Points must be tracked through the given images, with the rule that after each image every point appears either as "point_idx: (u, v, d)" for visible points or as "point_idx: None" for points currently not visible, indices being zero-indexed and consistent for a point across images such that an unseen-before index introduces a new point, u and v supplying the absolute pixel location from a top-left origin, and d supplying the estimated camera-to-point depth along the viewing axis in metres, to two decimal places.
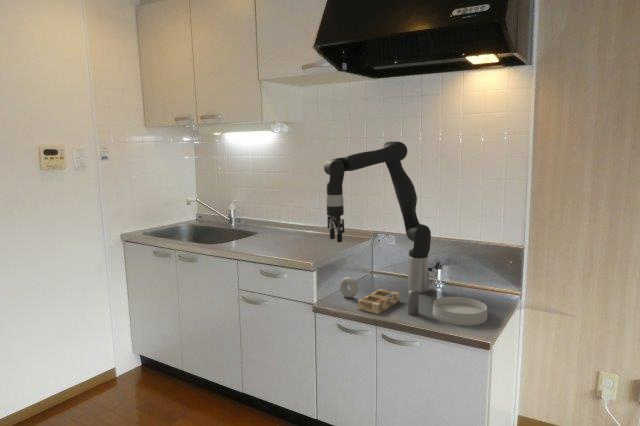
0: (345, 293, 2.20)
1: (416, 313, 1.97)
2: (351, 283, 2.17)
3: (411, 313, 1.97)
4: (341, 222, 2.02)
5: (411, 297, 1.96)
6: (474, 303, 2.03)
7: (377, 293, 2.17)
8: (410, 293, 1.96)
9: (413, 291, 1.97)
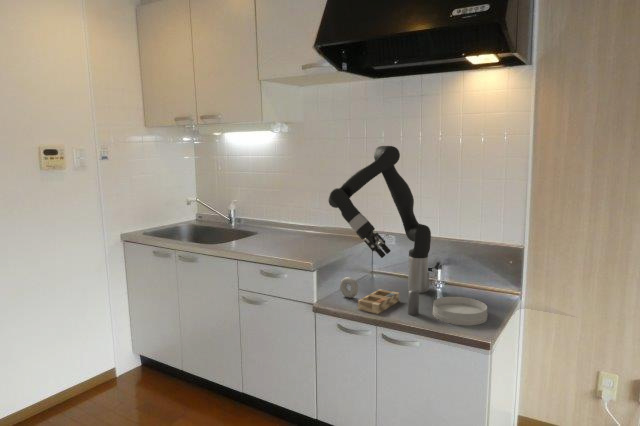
0: (345, 293, 2.20)
1: (416, 313, 1.97)
2: (351, 283, 2.17)
3: (411, 313, 1.97)
4: (367, 241, 1.95)
5: (411, 297, 1.96)
6: (474, 303, 2.03)
7: (377, 293, 2.17)
8: (410, 293, 1.96)
9: (413, 291, 1.97)
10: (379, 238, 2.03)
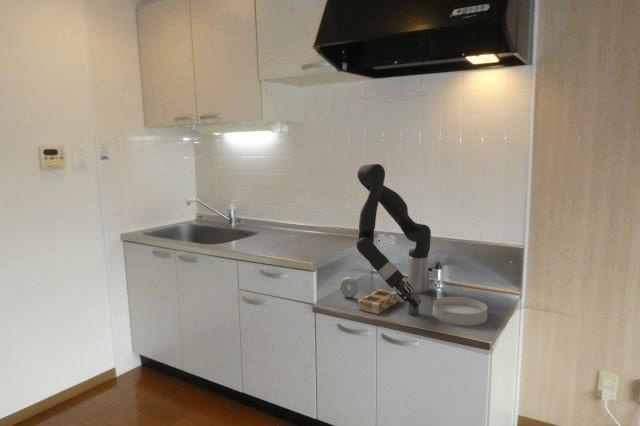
0: (345, 293, 2.20)
1: (416, 313, 1.97)
2: (351, 283, 2.17)
3: (411, 313, 1.97)
4: (400, 293, 1.93)
5: None
6: (474, 303, 2.03)
7: (377, 293, 2.17)
8: (410, 293, 1.96)
9: (413, 291, 1.97)
10: (408, 287, 2.00)
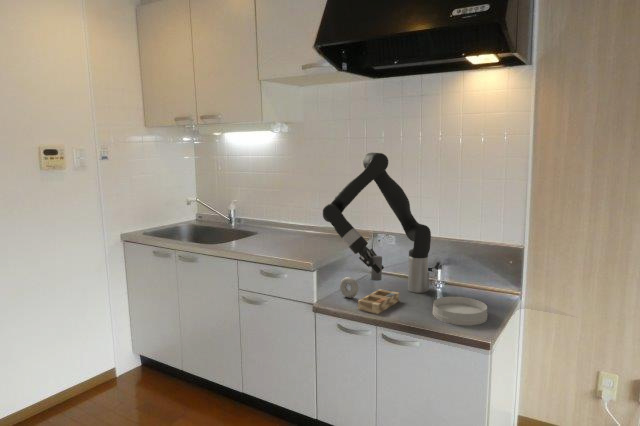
0: (345, 293, 2.20)
1: (379, 278, 2.02)
2: (351, 283, 2.17)
3: (374, 278, 2.02)
4: (363, 258, 1.98)
5: None
6: (474, 303, 2.03)
7: (377, 293, 2.17)
8: (373, 258, 2.01)
9: (376, 257, 2.02)
10: (372, 253, 2.05)
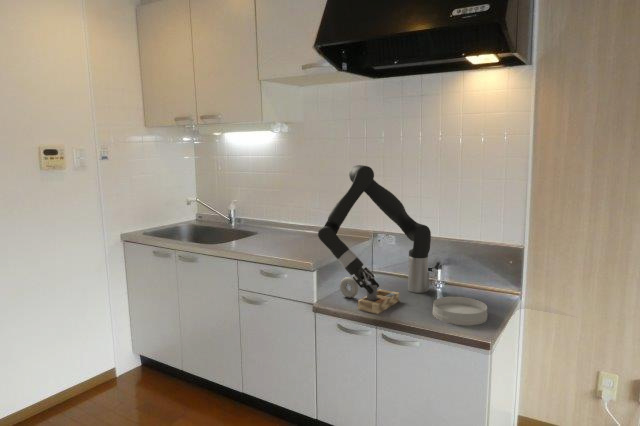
0: (345, 293, 2.20)
1: None
2: (351, 283, 2.17)
3: None
4: (356, 278, 2.00)
5: None
6: (474, 303, 2.03)
7: (377, 293, 2.17)
8: None
9: (371, 286, 2.05)
10: (368, 273, 2.08)
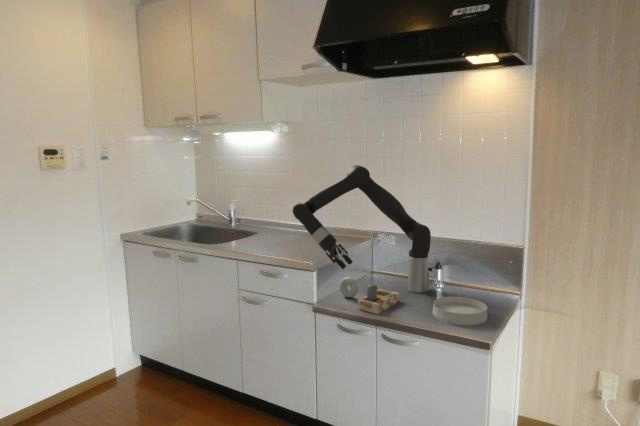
0: (345, 293, 2.20)
1: None
2: (351, 283, 2.17)
3: None
4: (328, 253, 2.04)
5: (369, 292, 2.04)
6: (474, 303, 2.03)
7: (377, 293, 2.17)
8: (368, 288, 2.04)
9: (371, 286, 2.05)
10: (341, 250, 2.11)
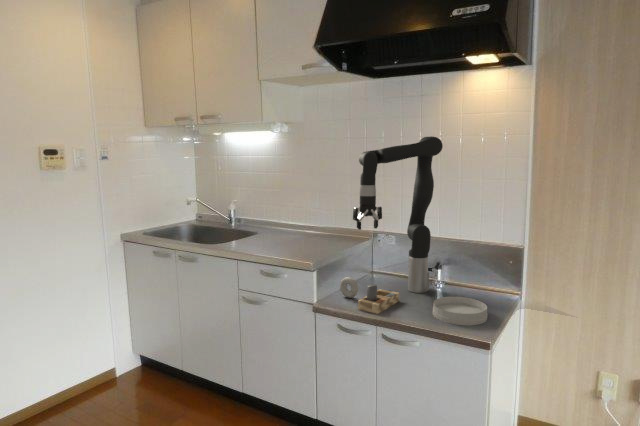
0: (345, 293, 2.20)
1: None
2: (351, 283, 2.17)
3: None
4: (354, 210, 2.17)
5: (369, 292, 2.04)
6: (474, 303, 2.03)
7: (377, 293, 2.17)
8: (368, 288, 2.04)
9: (371, 286, 2.05)
10: (373, 213, 2.19)
